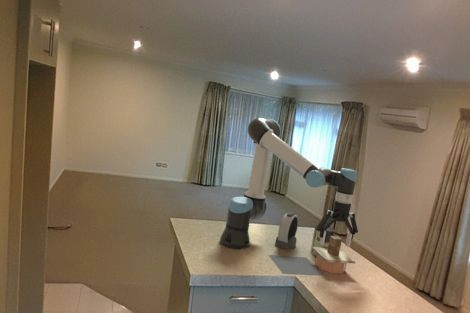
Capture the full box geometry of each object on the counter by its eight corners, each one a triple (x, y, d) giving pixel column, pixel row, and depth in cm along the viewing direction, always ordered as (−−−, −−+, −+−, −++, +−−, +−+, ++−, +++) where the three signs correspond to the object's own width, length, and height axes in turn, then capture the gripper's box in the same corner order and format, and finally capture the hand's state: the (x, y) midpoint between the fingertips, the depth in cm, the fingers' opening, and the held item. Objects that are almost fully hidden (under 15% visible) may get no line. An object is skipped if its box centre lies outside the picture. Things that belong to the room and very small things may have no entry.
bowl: (324, 273, 169) (326, 260, 168) (311, 261, 181) (314, 249, 181) (349, 274, 172) (351, 262, 171) (335, 262, 184) (338, 251, 184)
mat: (282, 274, 160) (282, 273, 160) (268, 255, 179) (268, 254, 179) (324, 276, 165) (324, 275, 165) (306, 258, 184) (306, 257, 184)
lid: (325, 261, 167) (329, 242, 166) (311, 248, 181) (314, 231, 180) (355, 263, 170) (358, 244, 169) (338, 250, 185) (342, 233, 184)
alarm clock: (289, 252, 189) (295, 217, 187) (270, 246, 194) (276, 212, 192) (299, 244, 203) (305, 212, 201) (281, 239, 208) (287, 207, 206)
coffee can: (329, 252, 198) (334, 227, 196) (330, 259, 188) (335, 233, 186) (310, 248, 200) (314, 223, 198) (309, 255, 190) (315, 228, 188)
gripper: (322, 201, 166) (314, 246, 169) (371, 206, 172) (362, 250, 175) (315, 197, 174) (307, 240, 176) (362, 202, 180) (353, 244, 182)
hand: (334, 245), depth 175 cm, fingers open, 13 cm apart
